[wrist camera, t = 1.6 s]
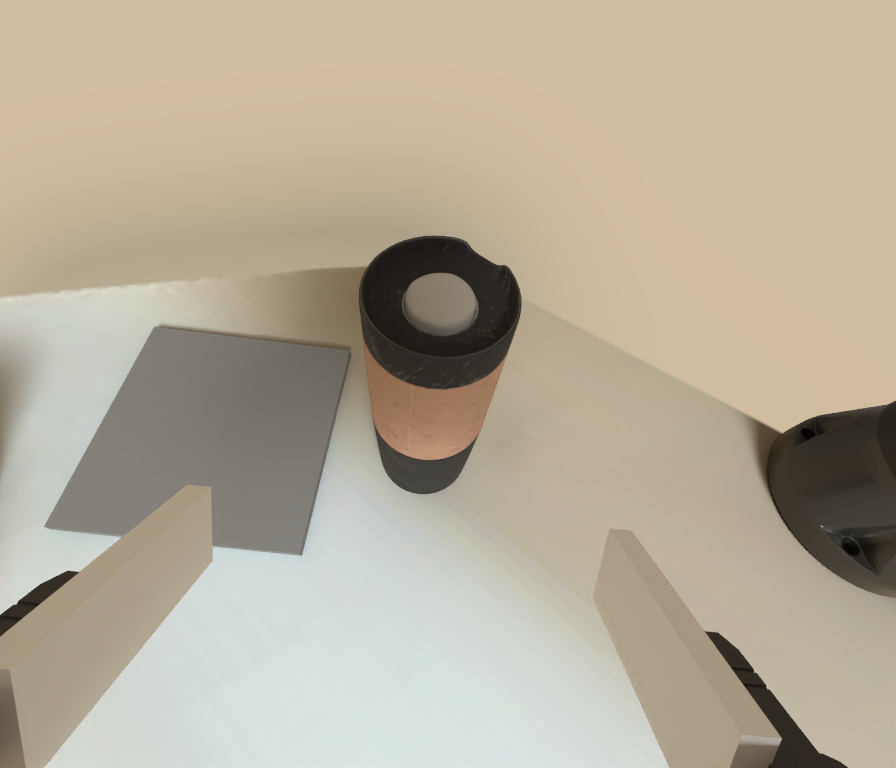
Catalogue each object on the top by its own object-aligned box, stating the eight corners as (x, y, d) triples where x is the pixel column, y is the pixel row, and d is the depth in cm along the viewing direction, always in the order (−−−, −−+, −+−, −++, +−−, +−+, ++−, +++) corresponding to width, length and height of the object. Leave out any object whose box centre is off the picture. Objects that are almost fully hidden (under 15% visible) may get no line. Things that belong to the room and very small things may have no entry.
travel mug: (380, 503, 34) (357, 367, 17) (376, 416, 38) (354, 233, 21) (474, 493, 35) (542, 356, 18) (461, 410, 39) (507, 231, 22)
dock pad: (350, 355, 41) (349, 350, 40) (301, 555, 32) (299, 553, 31) (158, 331, 40) (154, 326, 40) (51, 529, 31) (44, 526, 30)
